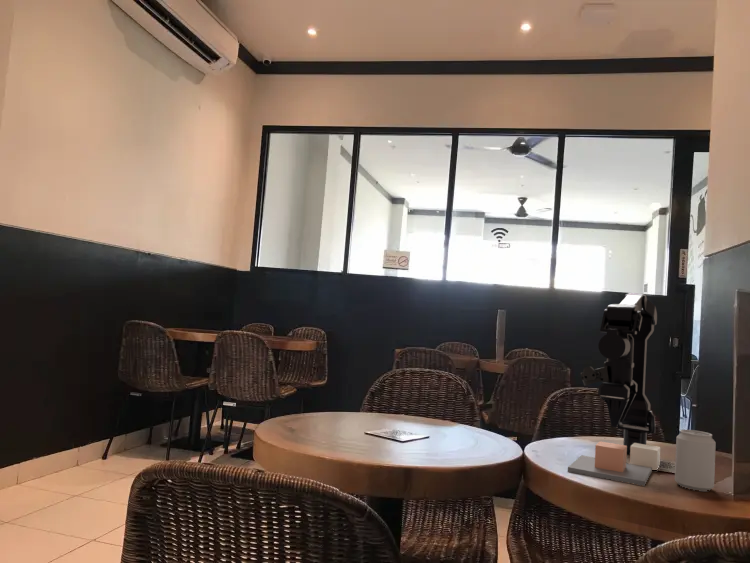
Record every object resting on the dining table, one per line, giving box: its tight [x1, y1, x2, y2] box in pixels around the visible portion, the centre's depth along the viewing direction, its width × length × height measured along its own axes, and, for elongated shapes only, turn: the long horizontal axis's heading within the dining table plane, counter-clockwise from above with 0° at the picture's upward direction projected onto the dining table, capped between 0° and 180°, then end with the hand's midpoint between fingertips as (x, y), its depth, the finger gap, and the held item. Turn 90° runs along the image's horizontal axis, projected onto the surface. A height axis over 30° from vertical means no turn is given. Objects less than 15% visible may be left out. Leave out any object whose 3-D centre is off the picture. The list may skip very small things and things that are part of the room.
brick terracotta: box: [594, 440, 628, 472], centre depth 135 cm, size 6×6×5 cm
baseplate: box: [567, 454, 653, 487], centre depth 134 cm, size 16×16×1 cm
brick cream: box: [629, 443, 661, 471], centre depth 143 cm, size 6×6×5 cm
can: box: [674, 429, 717, 492], centre depth 126 cm, size 8×8×12 cm
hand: (617, 424), depth 136 cm, fingers open, 9 cm apart
